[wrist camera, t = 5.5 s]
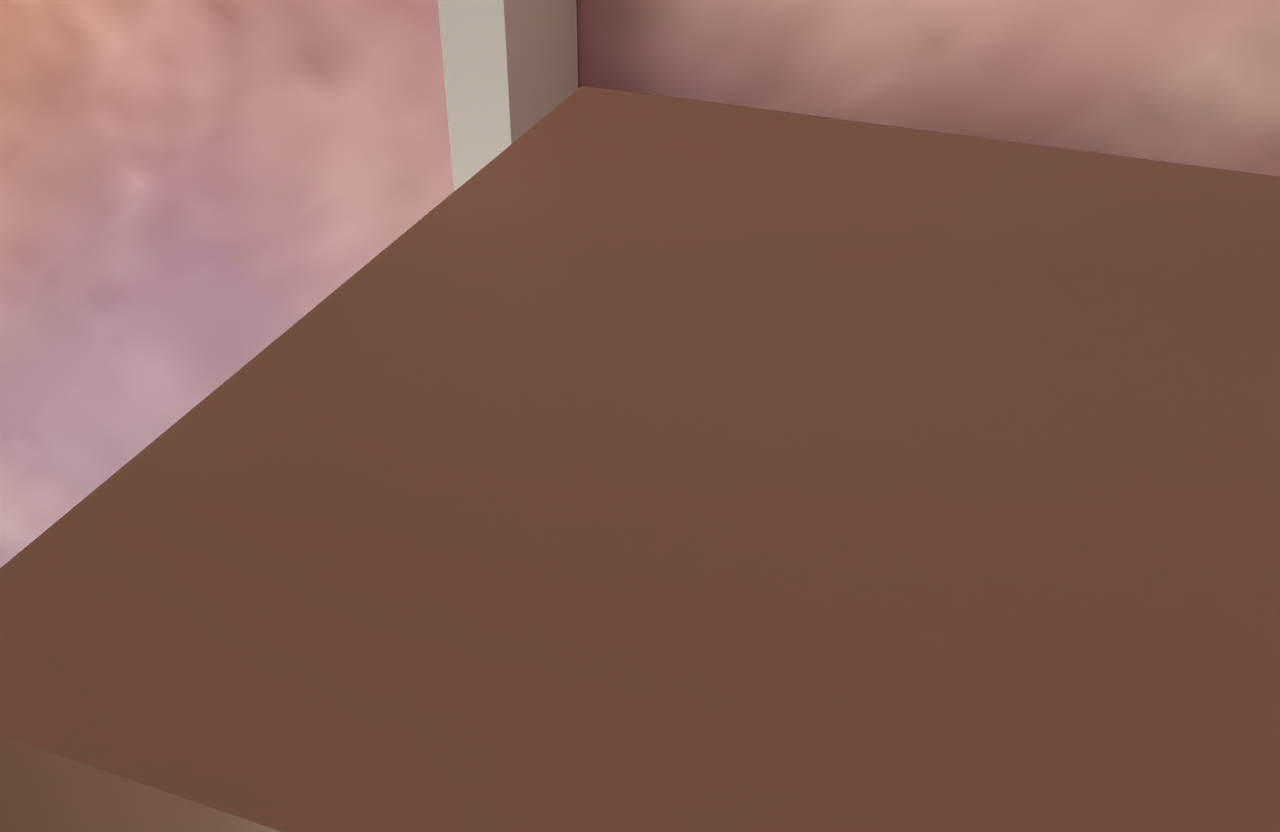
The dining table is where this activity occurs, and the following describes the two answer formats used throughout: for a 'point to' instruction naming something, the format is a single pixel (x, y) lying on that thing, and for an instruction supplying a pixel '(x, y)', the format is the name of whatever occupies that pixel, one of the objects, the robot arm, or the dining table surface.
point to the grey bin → (503, 72)
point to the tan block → (703, 510)
